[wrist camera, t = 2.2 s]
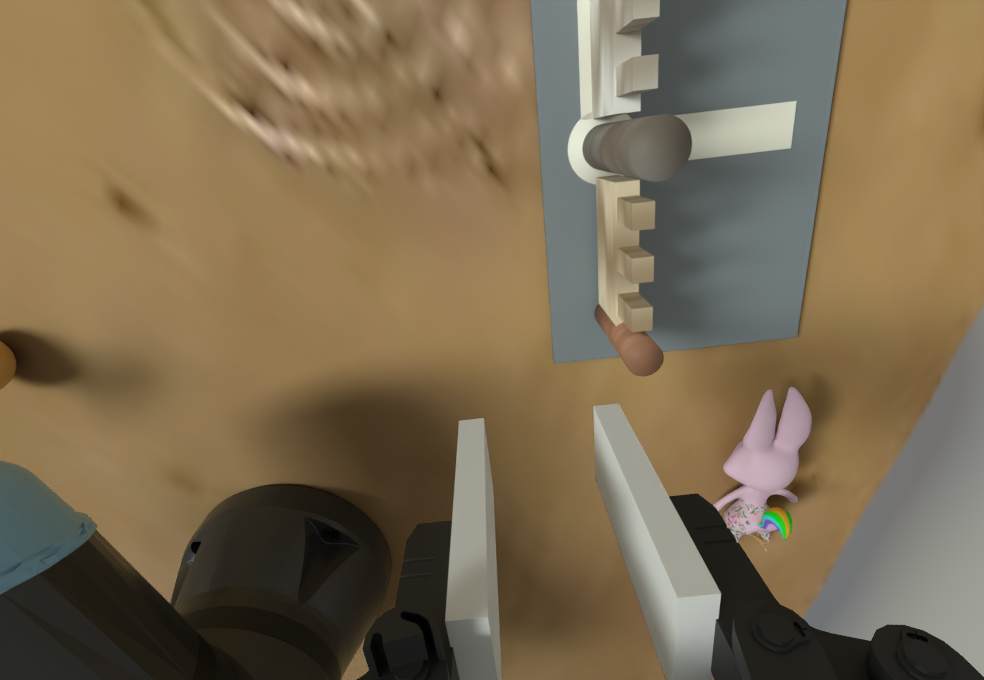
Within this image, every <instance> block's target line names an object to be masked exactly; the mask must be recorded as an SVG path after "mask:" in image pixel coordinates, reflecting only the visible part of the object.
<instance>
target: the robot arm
mask: <svg viewBox="0 0 984 680" xmlns="http://www.w3.org/2000/svg"><path fill="white" fill-rule="evenodd" d="M593 408H594V440H595V473H596V481H597V484H598V487H599V490H600V493H601V496H602V498H603V501H604V504H605V507H606V510H607V513H608V516H609V518H610V521H611V524H612V527H613V530H614V533H615V536H616V538H617V541H618V544H619V547H620V550H621V553H622V556H623V558H624V561H625V564H626V567H627V570H628V573H629V576H630V578H631V581H632V584H633V587H634V590H635V593H636V596H637V598H638V601H639V604H640V607H641V610H642V613H643V615H644V618H645V621H646V624H647V627H648V630H649V633H650V635H651V638H652V641H653V644H654V647H655V650H656V653H657V655H658V658H659V661H660V664H661V667H662V670H663V673H664V675H665V678H666V680H712V675H713V677H714V679H715V680H984V677H983V676H982V675H981V674H980V673H979V672H978V671H977V670H976V669H975V668H974V667H973V666H972V665H971V664H970V663H969V662H968V661H967V660H965V659H964V657H962V656H961V655H960V654H959V653H958V652H956V651H955V650H954V649H953V648H951V647H950V646H949V645H948V644H946V643H945V642H944V641H942V640H940V639H938V638H936V637H934V636H933V635H931V634H929V633H927V632H925V631H923V630H919V629H916V628H912V627H909V626H906V625H886V626H884V627H882V628H879V629H877V630H876V632H875V634H874V636H873V638H872V640H871V641H868V640H862V639H857V638H852V637H847V636H842V635H837V634H832V633H828V632H825V631H821V630H818V629H815V628H813V627H811V626H809V625H808V623H807V622H806V621H805V620H804V619H802V618H801V617H800V616H799V615H797V614H796V613H795V612H794V611H793V610H790V609H788V608H786V607H784V606H782V605H780V604H779V603H778V602H777V600H776V599H775V598H774V596H773V595H772V593H771V592H770V590H769V589H768V587H767V586H766V584H765V583H764V581H763V580H762V578H761V576H760V575H759V573H758V572H757V570H756V569H755V567H754V566H753V564H752V563H751V561H750V560H749V558H748V557H747V555H746V553H745V552H744V550H743V549H742V547H741V546H740V544H739V543H737V541H736V538H735V537H734V535H733V534H732V532H731V530H730V529H729V528H727V524H726V523H725V521H724V520H723V518H722V517H721V515H720V514H719V512H718V511H717V509H716V508H715V507H714V506H713V505H712V504H710V503H709V502H708V501H706V500H705V499H704V498H702V497H701V496H700V495H699V494H689V495H679V496H670V497H669V496H668V494H667V492H666V490H665V489H664V487H663V485H662V483H661V481H660V479H659V478H658V476H657V474H656V472H655V470H654V468H653V466H652V465H651V463H650V461H649V459H648V457H647V455H646V453H645V452H644V450H643V448H642V446H641V444H640V442H639V441H638V439H637V437H636V435H635V433H634V431H633V429H632V428H631V426H630V424H629V422H628V420H627V418H626V416H625V415H624V413H623V411H622V409H621V407H620V405H619V403H618V404H609V405H600V406H593ZM96 528H97V525H96V524H95V523H94V522H93V521H92V519H91V518H90V517H88V516H87V514H84V513H81V512H76V511H75V510H74V509H73V508H72V507H70V506H69V505H68V504H67V503H66V502H65V501H64V500H62V499H61V498H60V497H59V496H58V495H57V494H56V493H55V492H53V491H52V490H51V489H50V488H49V487H48V486H47V485H46V484H44V483H43V482H42V481H41V480H40V479H39V478H38V477H36V476H35V475H34V474H33V473H32V472H30V471H29V470H27V469H25V468H23V467H21V466H19V465H16V464H13V463H9V462H4V461H0V680H341V679H342V676H343V674H344V672H345V670H346V669H347V667H348V665H349V664H350V662H351V660H352V659H353V657H354V655H355V654H356V652H357V650H358V649H359V647H360V645H361V644H362V642H363V640H364V638H365V641H364V645H363V652H364V655H365V658H366V661H367V664H368V667H369V671H368V672H367V673H366V674H365V675H363V676H362V677H360V678H359V679H357V680H502V673H501V651H500V628H499V605H498V582H497V559H496V537H495V514H494V491H493V483H492V475H491V468H490V460H489V453H488V445H487V438H486V430H485V423H484V418H479V419H470V420H461V421H459V428H458V443H457V457H456V471H455V486H454V500H453V515H452V521H443V522H434V523H424V524H418V525H417V526H416V528H415V529H414V531H413V533H412V534H411V536H410V537H409V539H408V540H407V543H406V549H405V554H404V563H403V566H402V571H401V579H400V582H399V588H398V593H397V599H396V605H395V608H393V609H391V610H389V611H387V612H385V613H384V614H383V615H382V616H381V617H379V618H378V619H377V620H376V618H377V617H378V615H379V613H380V611H381V609H382V606H383V604H384V601H385V598H386V593H387V588H388V584H389V579H390V574H391V557H390V552H389V549H388V546H387V543H386V541H385V539H384V537H383V535H382V534H381V532H380V531H379V529H378V528H377V527H376V526H375V524H374V523H373V522H372V521H371V520H370V519H369V518H368V517H367V516H366V515H365V514H363V513H362V512H361V511H360V510H358V509H357V508H356V507H354V506H353V505H351V504H349V503H348V502H346V501H344V500H342V499H340V498H338V497H336V496H333V495H331V494H328V493H325V492H323V491H319V490H316V489H311V488H307V487H301V486H292V485H272V486H263V487H257V488H253V489H249V490H246V491H243V492H240V493H238V494H235V495H233V496H231V497H229V498H227V499H226V500H224V501H223V502H221V503H220V504H219V505H217V506H216V507H215V508H214V509H213V510H212V511H211V512H210V513H209V514H208V516H207V517H206V518H205V520H204V521H203V523H202V524H201V525H200V527H199V528H198V530H197V531H196V532H195V534H194V535H193V536H192V538H191V540H190V541H189V543H188V545H187V547H186V550H185V552H184V555H183V558H182V562H181V566H180V569H179V572H178V576H177V580H176V583H175V587H174V590H173V594H172V597H171V601H170V603H169V602H168V601H167V600H166V599H165V598H164V597H163V596H162V595H161V594H160V593H159V592H158V591H157V590H156V589H155V588H154V587H153V586H152V585H151V584H150V583H149V582H148V581H147V580H146V579H145V578H144V577H143V576H142V575H141V574H140V573H139V572H138V571H137V570H136V569H135V568H134V567H133V566H132V565H131V564H130V563H129V562H128V561H127V560H126V559H125V558H124V557H123V556H122V555H121V554H120V553H119V552H118V551H117V550H116V549H115V548H114V547H113V546H112V545H111V544H110V543H109V542H108V541H107V540H106V539H105V538H104V537H103V536H102V535H101V534H100V533H99V532H98V531H97V530H96ZM375 620H376V621H375ZM374 621H375V622H374Z"/></svg>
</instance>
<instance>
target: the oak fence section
mask: <svg viewBox="0 0 984 680" xmlns="http://www.w3.org/2000/svg"><path fill="white" fill-rule="evenodd" d="M596 205H597V248H598V290H599V304H598V305H597V306H596V308H595V311H594V316H595V319H596V321H597V322H598V324H599V325H600V327H601V328H602V330H603V331H604V333H605V334H606V336H607V337H608V339H609V340H610V342H611V343H612V345H613V346H614V348H615V349H616V351H617V352H618V354H619V355H620V357H621V358H622V360H623V361H624V363H625V364H626V366H627V367H628V369H629V370H630V372H632V373H633V374H635V375H637V376H648V375H651V374H653V373H655V372H656V371H657V370H658V369H659V368H660V367H661V365H662V363H663V358H664V356H663V352H662V350H661V349H660V347H659V346H658V345H657V344H656V343H655V342H654V341H653V339H652V338H651V337H650V336H649V335H648V334H647V333H646V332H645V331H650V330H652V327H653V306H651V305H650V304H649V303H648V302H647V301H646V300H645V299H644V298H643V297H642V296H641V295H640V294H639V283H645V282H654V256H653V255H651V254H650V253H648V252H647V251H645V250H644V249H642V248H640V247H639V230H647V229H655V201H654V200H651V199H648V198H645V197H642V196H640V180H638V179H634V178H629V177H625V176H620V175H612V176H603V177H596Z"/></svg>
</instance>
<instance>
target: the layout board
mask: <svg viewBox="0 0 984 680" xmlns="http://www.w3.org/2000/svg"><path fill="white" fill-rule="evenodd" d="M846 3H847V0H660V13H659V17H658V18H656V19H655V20H653V21H652V22H651V23H649V24H648V25H646V26H645V27H644V28H642V29H641V56H645V55H653V54H659V58H658V88H657V89H653V90H650V91H647V92H644V93H641V111H638V112H633V113H628V114H623V115H618V116H613V117H604V118H596V119H592V84H591V44H590V4H589V0H530V7H531V23H532V38H533V53H534V69H535V84H536V99H537V115H538V130H539V146H540V161H541V176H542V192H543V207H544V222H545V238H546V253H547V269H548V284H549V299H550V315H551V330H552V345H553V361H554V364H557V363H566V362H575V361H584V360H593V359H602V358H611V357H620V355H619V354H618V352H617V351H616V349H615V348H614V346H613V345H612V343H611V342H610V340H609V339H608V337H607V336H606V334H605V333H604V331H603V330H602V328H601V327H600V325H599V324H598V322H597V321H596V319H595V316H594V311H595V308H596V306H597V305H598V304H599V290H598V248H597V205H596V177H603V176H612V175H620V174H616V173H611V172H606V171H602V170H597V169H594V168H592V167H591V166H590V165H588V163H587V162H586V161H585V159H584V156H583V151H582V146H583V141H584V139H585V137H586V135H587V133H588V132H589V131H590V130H591V129H592V128H594V127H595V126H597V125H600V124H604V123H610V122H617V121H623V120H629V119H635V118H641V117H648V116H654V115H660V114H670V115H674V116H676V117H678V118H680V119H681V120H682V121H683V122H684V123H685V124H686V125H687V127H688V128H689V131H690V133H691V137H692V150H691V154H690V157H689V159H688V161H687V163H686V165H685V166H684V167H683V169H682V170H681V171H680V172H679V173H678V174H676V175H675V176H674V177H672V178H670V179H668V180H665V181H660V182H654V181H648V180H643V179H639V178H634V177H629V176H625V175H620V176H625V177H629V178H634V179H638V180H640V196H642V197H645V198H648V199H651V200H654V201H655V229H647V230H639V247H640V248H642V249H644V250H645V251H647V252H648V253H650V254H651V255H653V256H654V282H645V283H639V294H640V295H641V296H642V297H643V298H644V299H645V300H646V301H647V302H648V303H649V304H650V305H651V306H653V327H652V330H650V331H645V332H646V333H647V334H648V335H649V336H650V337H651V338H652V339H653V341H654V342H655V343H656V344H657V345H658V346H659V347H660V349H661V350H662V352H666V351H675V350H685V349H694V348H703V347H712V346H721V345H730V344H739V343H748V342H758V341H767V340H776V339H785V338H794V337H797V333H798V326H799V320H800V313H801V306H802V299H803V293H804V286H805V279H806V272H807V266H808V259H809V252H810V246H811V239H812V232H813V225H814V219H815V212H816V205H817V198H818V192H819V185H820V178H821V171H822V165H823V158H824V151H825V144H826V138H827V131H828V124H829V117H830V111H831V104H832V97H833V90H834V84H835V77H836V70H837V63H838V57H839V50H840V43H841V37H842V30H843V23H844V16H845V10H846Z"/></svg>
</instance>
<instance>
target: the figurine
mask: <svg viewBox="0 0 984 680" xmlns="http://www.w3.org/2000/svg"><path fill="white" fill-rule="evenodd" d="M15 371H16V359H15V356H14V354H13V352H12V351H11V350H10V349H9V347H8V346H6V345H5V344H4V343H3V342H1V341H0V390H1V389H2V388H3V387H5V386H6V385H7V384H8V383H9V382H10V381H11V379H12V378H13V376H14V374H15Z"/></svg>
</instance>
